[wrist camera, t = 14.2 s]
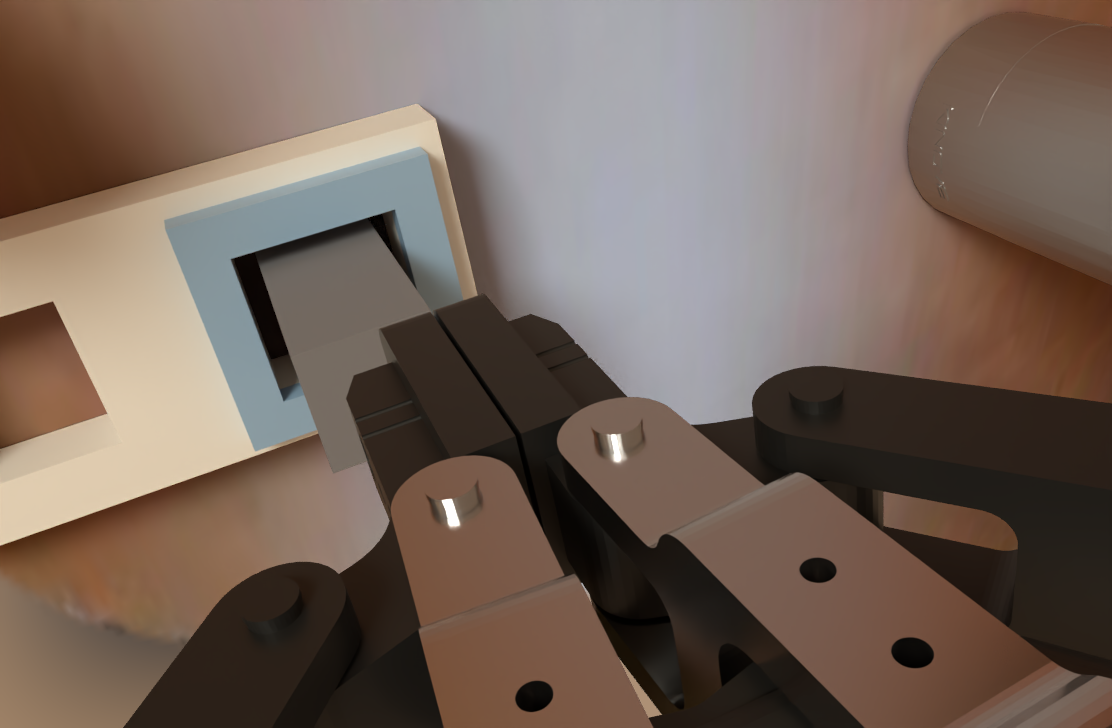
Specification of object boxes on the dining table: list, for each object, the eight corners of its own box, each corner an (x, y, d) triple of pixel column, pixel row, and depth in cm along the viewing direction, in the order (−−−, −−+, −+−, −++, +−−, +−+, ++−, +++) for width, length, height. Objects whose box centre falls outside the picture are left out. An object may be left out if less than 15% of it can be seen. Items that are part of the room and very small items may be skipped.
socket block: (417, 103, 35) (443, 125, 32) (476, 344, 40) (504, 382, 37) (-238, 284, 30) (-277, 330, 27) (-76, 534, 35) (-94, 595, 32)
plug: (358, 206, 36) (430, 309, 28) (387, 302, 38) (462, 426, 30) (250, 239, 35) (290, 356, 27) (285, 336, 37) (333, 473, 29)
